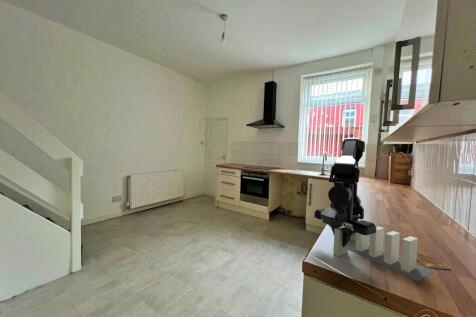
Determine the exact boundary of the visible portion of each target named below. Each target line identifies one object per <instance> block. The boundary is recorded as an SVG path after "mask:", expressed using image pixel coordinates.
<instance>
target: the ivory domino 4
mask: <svg viewBox="0 0 476 317" xmlns="http://www.w3.org/2000/svg"><path fill="white" fill-rule="evenodd" d="M418 240H419V239H418V238H417V237H414V236H412V235H411V236H407V237H404V238H402V242H401V243H402V244H401V247H402V248H401V269H402V270H404V271H406V272H410V271H412V270H414V269H415V268H416V265H417V262H418V261H417V253H418V243H419V242H418Z"/></svg>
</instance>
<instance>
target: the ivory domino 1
mask: <svg viewBox="0 0 476 317" xmlns="http://www.w3.org/2000/svg"><path fill="white" fill-rule="evenodd" d="M355 241H356V248H355V249H356V250H358V251H360V252H361V251H364V250H367V249H369V242H370V235H367V236H366V235H362V234H359V233H355Z"/></svg>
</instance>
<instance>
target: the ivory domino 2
mask: <svg viewBox="0 0 476 317" xmlns="http://www.w3.org/2000/svg"><path fill="white" fill-rule="evenodd" d="M384 240H385V228H384V227H381V226H376V233H373V234H370V235H369V256H372V257H374V258H375V257H378V256H380V255H383V252H384Z"/></svg>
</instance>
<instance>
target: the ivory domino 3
mask: <svg viewBox="0 0 476 317" xmlns="http://www.w3.org/2000/svg"><path fill="white" fill-rule="evenodd" d="M400 238H401V234H400V232H397V231H395V230H392V231H388V232H384V249H383V252H384V262H386V263H388V264H390V265H391V264H393V263H395V262H397V261H398V258H400V256H399V254H400Z"/></svg>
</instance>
